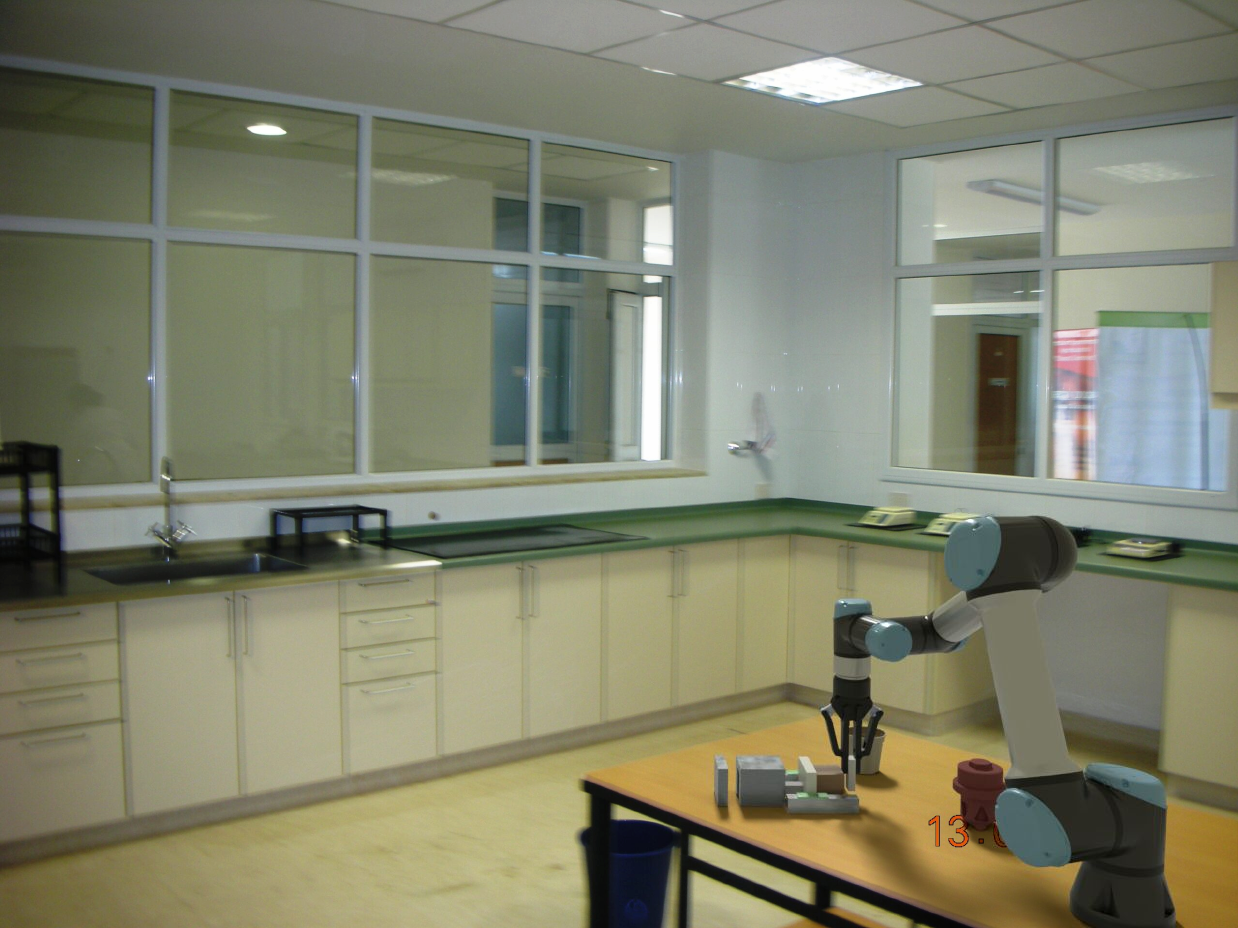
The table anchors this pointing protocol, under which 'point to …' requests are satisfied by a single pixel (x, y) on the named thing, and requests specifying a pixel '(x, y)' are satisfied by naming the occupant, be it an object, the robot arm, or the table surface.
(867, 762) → the flower pot
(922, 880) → the table surface
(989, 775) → the mechanical component
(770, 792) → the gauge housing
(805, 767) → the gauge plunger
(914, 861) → the table surface
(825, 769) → the walnut block
